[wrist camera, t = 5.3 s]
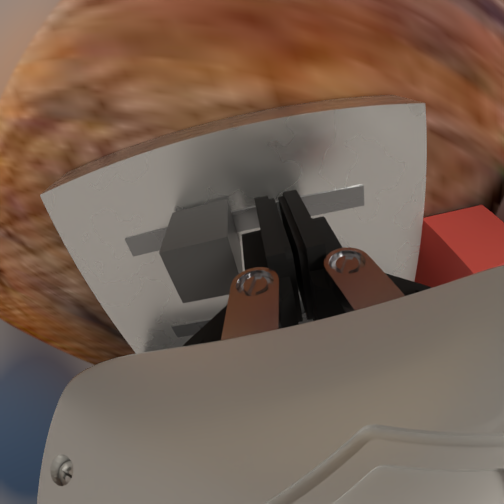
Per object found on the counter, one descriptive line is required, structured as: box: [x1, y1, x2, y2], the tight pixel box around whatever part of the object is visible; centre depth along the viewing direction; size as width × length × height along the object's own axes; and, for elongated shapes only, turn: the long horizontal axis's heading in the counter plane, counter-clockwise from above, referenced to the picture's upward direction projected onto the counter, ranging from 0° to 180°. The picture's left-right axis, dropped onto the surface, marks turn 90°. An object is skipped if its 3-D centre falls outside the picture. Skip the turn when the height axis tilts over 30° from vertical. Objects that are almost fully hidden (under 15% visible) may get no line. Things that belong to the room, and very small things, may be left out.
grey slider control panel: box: [40, 95, 427, 353], centre depth 14 cm, size 18×15×8 cm
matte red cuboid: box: [414, 205, 504, 288], centre depth 16 cm, size 6×6×6 cm
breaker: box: [159, 199, 243, 303], centre depth 12 cm, size 2×2×3 cm
